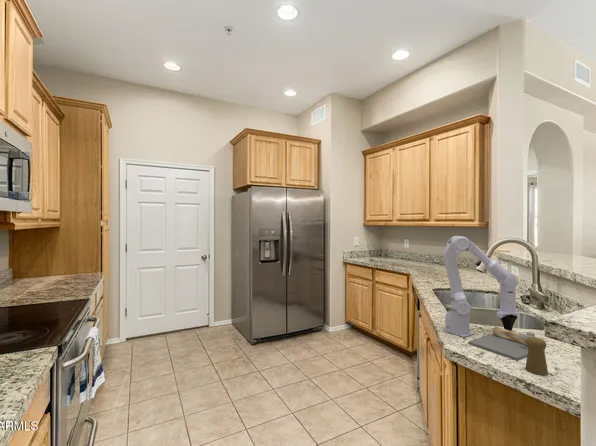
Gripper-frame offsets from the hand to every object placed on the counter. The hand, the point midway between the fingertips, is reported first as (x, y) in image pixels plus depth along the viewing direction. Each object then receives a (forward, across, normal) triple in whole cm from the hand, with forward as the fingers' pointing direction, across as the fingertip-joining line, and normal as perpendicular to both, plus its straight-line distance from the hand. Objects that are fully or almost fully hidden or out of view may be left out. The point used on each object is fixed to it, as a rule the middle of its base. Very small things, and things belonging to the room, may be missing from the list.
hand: (508, 331), depth 132 cm
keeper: (+1, -11, -12) cm, 16 cm away
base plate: (+2, -13, -5) cm, 14 cm away
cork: (+2, -26, -21) cm, 34 cm away
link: (+1, -6, -5) cm, 8 cm away
